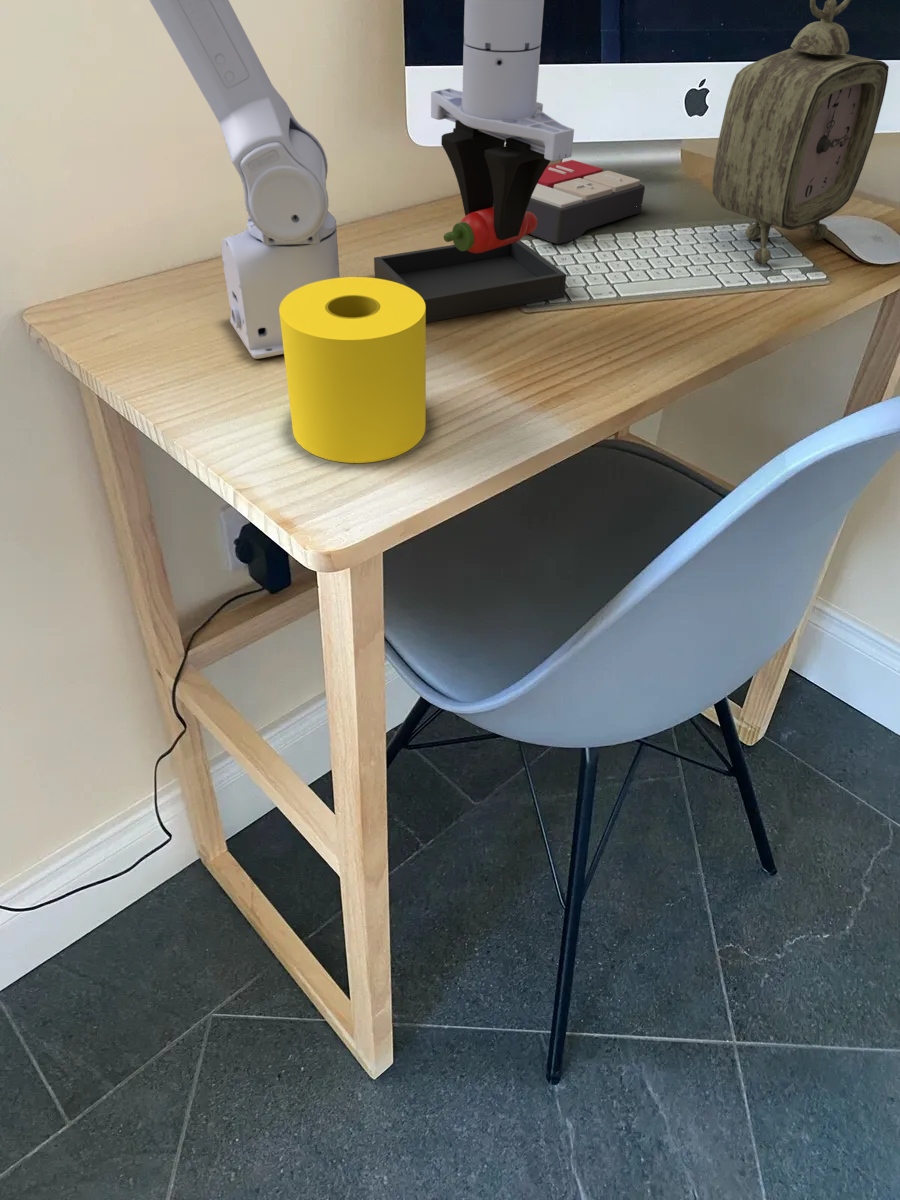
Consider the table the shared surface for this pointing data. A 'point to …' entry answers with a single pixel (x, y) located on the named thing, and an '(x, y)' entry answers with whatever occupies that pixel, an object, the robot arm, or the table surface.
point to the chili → (484, 231)
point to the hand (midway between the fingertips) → (493, 230)
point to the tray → (473, 278)
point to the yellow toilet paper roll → (355, 367)
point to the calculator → (581, 200)
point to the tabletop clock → (798, 131)
